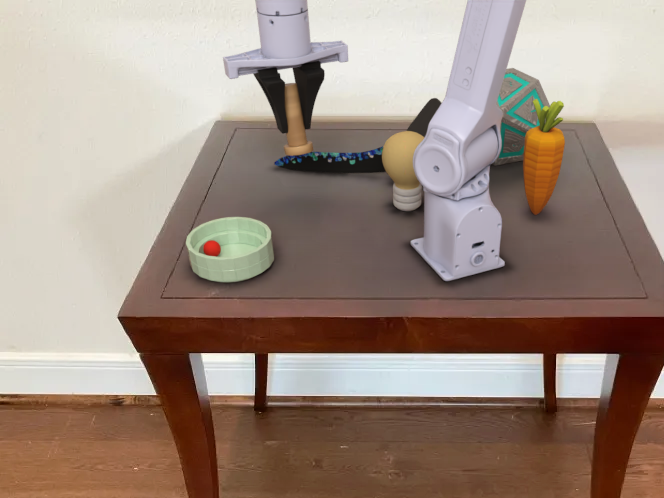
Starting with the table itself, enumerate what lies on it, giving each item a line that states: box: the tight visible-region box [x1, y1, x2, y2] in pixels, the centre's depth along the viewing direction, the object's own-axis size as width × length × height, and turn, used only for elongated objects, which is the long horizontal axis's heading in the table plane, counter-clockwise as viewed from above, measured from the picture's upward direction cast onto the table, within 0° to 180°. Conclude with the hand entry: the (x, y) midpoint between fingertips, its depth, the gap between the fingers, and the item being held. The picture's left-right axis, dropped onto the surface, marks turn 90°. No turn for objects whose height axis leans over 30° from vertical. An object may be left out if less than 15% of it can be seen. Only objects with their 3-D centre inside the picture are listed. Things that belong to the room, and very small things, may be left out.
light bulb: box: [382, 130, 424, 212], centre depth 93 cm, size 6×6×10 cm
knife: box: [273, 145, 387, 174], centre depth 102 cm, size 31×3×4 cm, turn 75°
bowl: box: [185, 216, 275, 283], centre depth 85 cm, size 10×10×4 cm
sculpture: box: [491, 67, 551, 167], centre depth 105 cm, size 13×14×30 cm
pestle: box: [283, 82, 314, 156], centre depth 89 cm, size 4×4×8 cm
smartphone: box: [406, 97, 443, 138], centre depth 108 cm, size 8×1×15 cm
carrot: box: [522, 99, 566, 216], centre depth 90 cm, size 5×5×15 cm
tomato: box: [203, 240, 221, 257], centre depth 86 cm, size 2×2×2 cm
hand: (294, 128), depth 90 cm, fingers closed on pestle, 2 cm apart
